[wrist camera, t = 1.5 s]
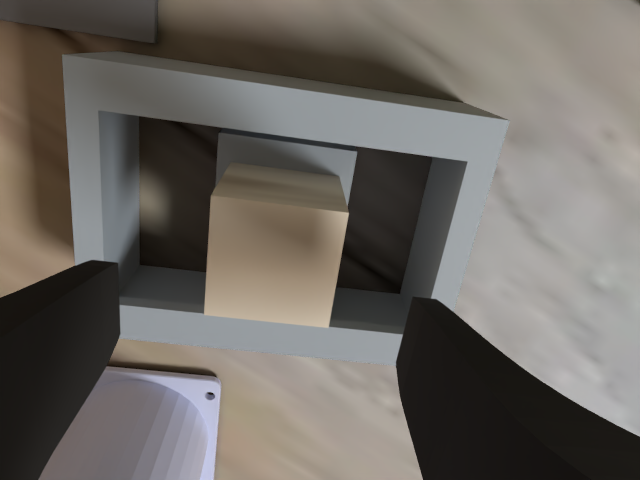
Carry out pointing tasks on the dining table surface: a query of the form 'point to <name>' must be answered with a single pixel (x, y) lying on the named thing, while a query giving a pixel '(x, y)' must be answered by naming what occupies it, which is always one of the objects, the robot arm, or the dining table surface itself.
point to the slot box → (277, 152)
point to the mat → (88, 16)
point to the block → (274, 245)
